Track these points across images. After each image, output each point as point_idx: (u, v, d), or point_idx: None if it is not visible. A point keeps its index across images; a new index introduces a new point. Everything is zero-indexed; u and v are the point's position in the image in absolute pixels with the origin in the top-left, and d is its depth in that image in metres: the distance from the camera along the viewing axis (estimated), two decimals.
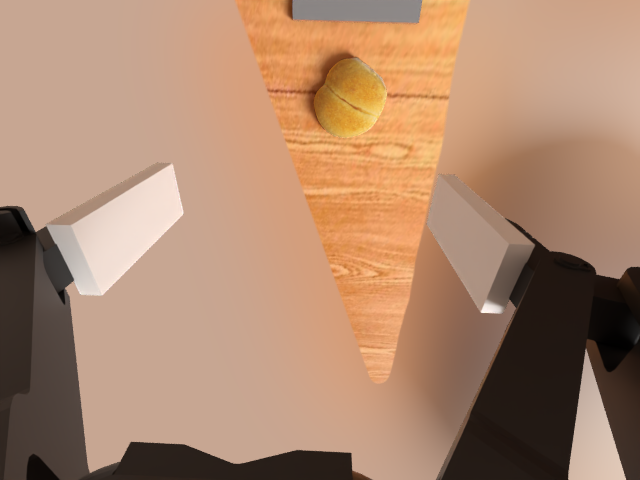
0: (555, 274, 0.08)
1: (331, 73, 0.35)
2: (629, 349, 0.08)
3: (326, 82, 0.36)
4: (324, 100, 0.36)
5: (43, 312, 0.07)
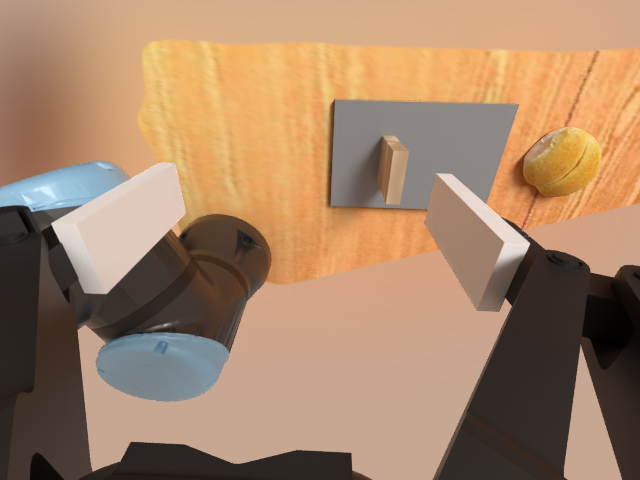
0: (550, 272, 0.08)
1: (534, 183, 0.39)
2: (622, 346, 0.08)
3: (536, 185, 0.40)
4: (558, 191, 0.39)
5: (48, 311, 0.07)
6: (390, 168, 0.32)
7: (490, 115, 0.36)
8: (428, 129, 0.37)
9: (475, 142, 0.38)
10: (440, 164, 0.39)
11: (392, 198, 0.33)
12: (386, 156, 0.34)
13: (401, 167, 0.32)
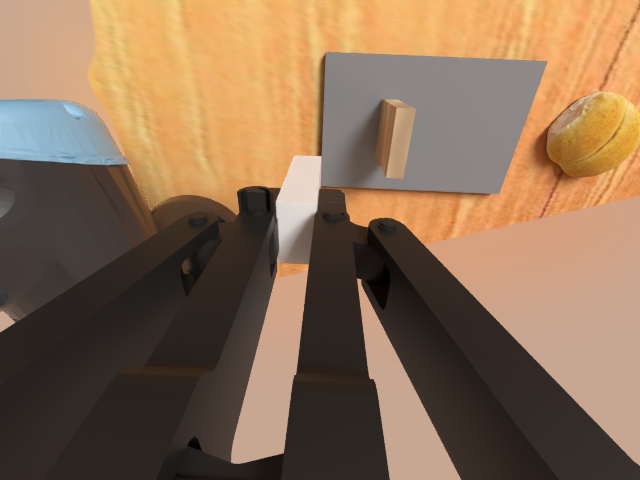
0: (326, 227, 0.09)
1: (560, 160, 0.33)
2: (388, 282, 0.10)
3: (561, 163, 0.34)
4: (588, 169, 0.33)
5: (253, 286, 0.08)
6: (392, 131, 0.26)
7: (512, 74, 0.30)
8: (437, 91, 0.31)
9: (493, 109, 0.32)
10: (450, 136, 0.33)
11: (394, 170, 0.27)
12: (387, 120, 0.28)
13: (406, 130, 0.25)
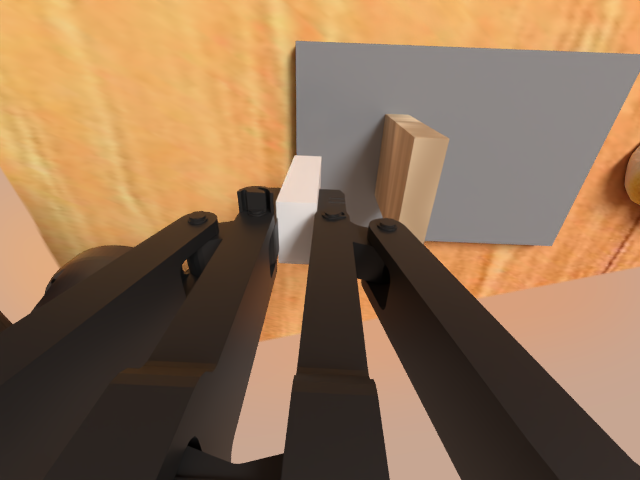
0: (326, 227, 0.09)
1: None
2: (388, 282, 0.10)
3: None
4: None
5: (253, 286, 0.08)
6: (405, 176, 0.15)
7: (590, 76, 0.19)
8: (471, 103, 0.20)
9: (554, 128, 0.21)
10: (487, 167, 0.22)
11: None
12: (395, 151, 0.17)
13: (430, 174, 0.14)
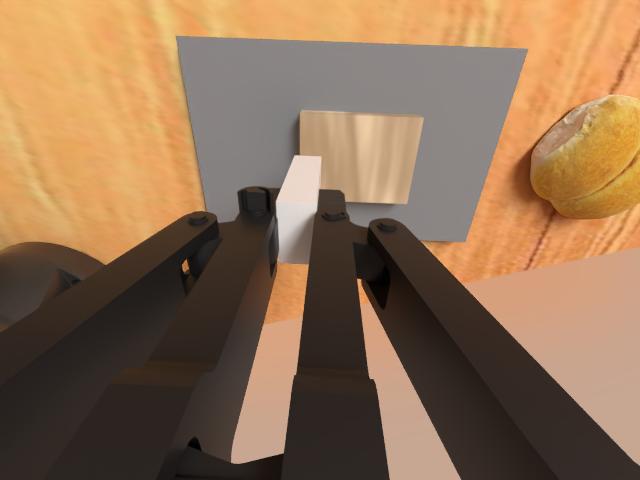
0: (326, 227, 0.09)
1: (551, 197, 0.22)
2: (388, 282, 0.10)
3: (553, 199, 0.23)
4: (593, 211, 0.22)
5: (253, 286, 0.08)
6: (412, 148, 0.20)
7: (474, 70, 0.19)
8: (360, 98, 0.20)
9: (447, 123, 0.21)
10: None
11: None
12: (369, 139, 0.20)
13: None
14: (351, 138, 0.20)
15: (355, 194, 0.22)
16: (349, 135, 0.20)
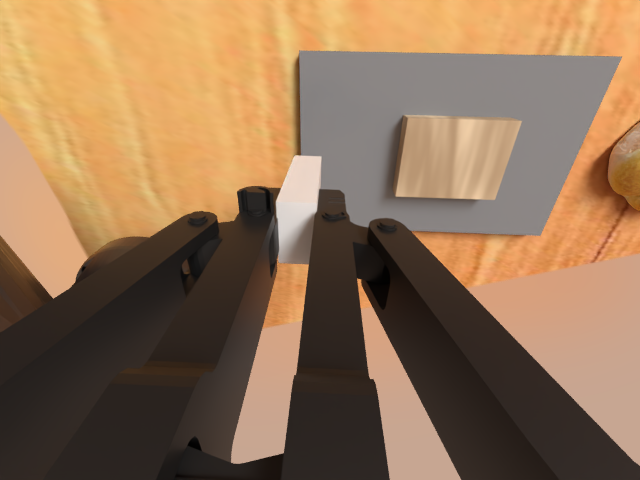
0: (326, 227, 0.09)
1: (629, 192, 0.24)
2: (388, 282, 0.10)
3: (629, 195, 0.25)
4: None
5: (253, 286, 0.08)
6: (507, 148, 0.22)
7: (569, 77, 0.21)
8: (459, 103, 0.22)
9: (537, 125, 0.23)
10: None
11: None
12: (468, 140, 0.22)
13: None
14: (451, 140, 0.22)
15: (447, 191, 0.24)
16: (450, 137, 0.22)
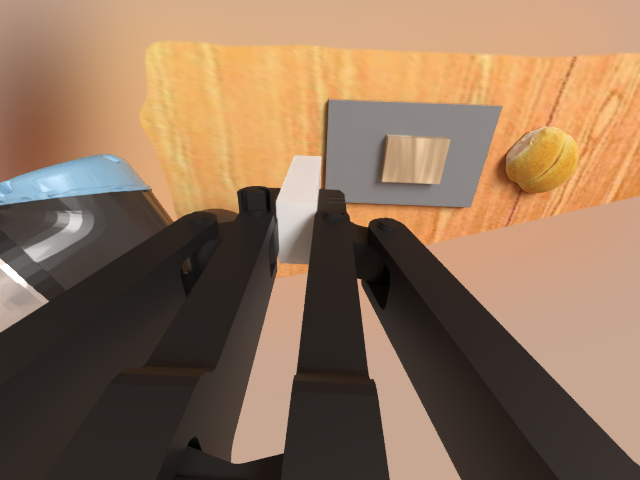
0: (326, 227, 0.09)
1: (516, 180, 0.41)
2: (388, 282, 0.10)
3: (518, 182, 0.42)
4: (538, 187, 0.41)
5: (253, 286, 0.08)
6: (444, 154, 0.39)
7: (475, 115, 0.38)
8: (417, 128, 0.39)
9: (461, 141, 0.40)
10: None
11: None
12: (422, 149, 0.39)
13: None
14: (413, 149, 0.39)
15: (412, 178, 0.41)
16: (412, 148, 0.39)
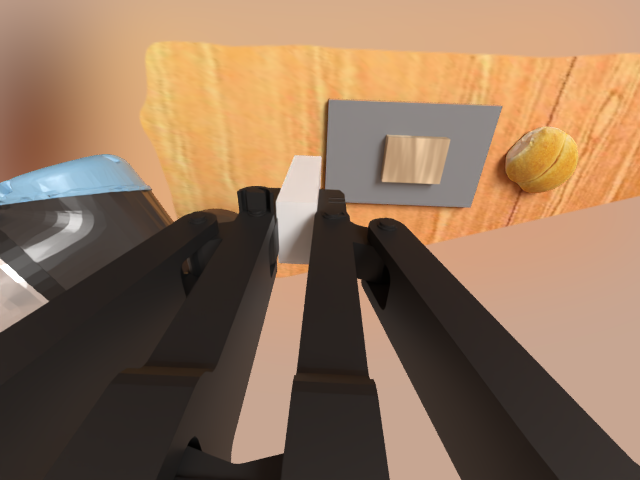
0: (326, 227, 0.09)
1: (516, 180, 0.41)
2: (388, 282, 0.10)
3: (518, 182, 0.42)
4: (538, 187, 0.41)
5: (253, 286, 0.08)
6: (444, 154, 0.39)
7: (476, 116, 0.38)
8: (417, 128, 0.39)
9: (461, 141, 0.40)
10: None
11: None
12: (422, 149, 0.39)
13: None
14: (413, 149, 0.39)
15: (412, 178, 0.41)
16: (412, 148, 0.39)
